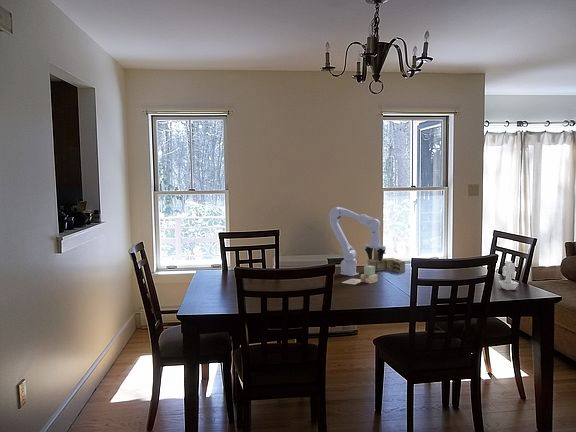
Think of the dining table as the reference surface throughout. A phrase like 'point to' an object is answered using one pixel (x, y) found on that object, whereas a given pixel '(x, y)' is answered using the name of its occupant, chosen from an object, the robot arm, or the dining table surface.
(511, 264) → the figurine
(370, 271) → the sage cube
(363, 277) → the beech base
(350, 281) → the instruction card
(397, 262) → the toy kitchen set
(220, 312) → the dining table surface
